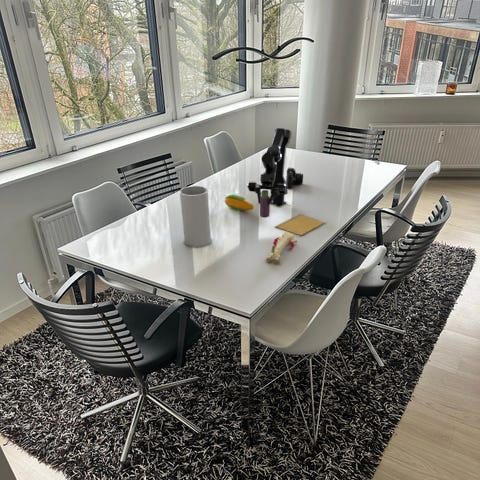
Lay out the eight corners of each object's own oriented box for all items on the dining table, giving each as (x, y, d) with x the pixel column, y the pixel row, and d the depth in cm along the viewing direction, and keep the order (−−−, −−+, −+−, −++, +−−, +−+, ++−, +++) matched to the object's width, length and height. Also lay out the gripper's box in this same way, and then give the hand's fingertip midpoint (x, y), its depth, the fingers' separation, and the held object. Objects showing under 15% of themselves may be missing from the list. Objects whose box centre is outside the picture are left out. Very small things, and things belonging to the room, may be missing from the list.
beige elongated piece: (283, 267, 198) (300, 239, 215) (283, 250, 192) (301, 223, 210) (261, 263, 201) (280, 236, 219) (261, 246, 196) (280, 220, 213)
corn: (229, 190, 253) (258, 197, 243) (231, 203, 258) (258, 211, 247) (221, 194, 249) (249, 202, 238) (222, 207, 254) (250, 216, 243)
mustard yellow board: (299, 215, 242) (299, 214, 241) (324, 223, 233) (324, 222, 233) (275, 227, 230) (275, 226, 230) (301, 235, 221) (301, 235, 221)
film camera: (308, 188, 276) (309, 171, 270) (288, 190, 273) (289, 173, 268) (297, 179, 290) (298, 163, 284) (279, 180, 288) (279, 165, 282)
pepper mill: (264, 213, 229) (264, 188, 222) (271, 215, 226) (271, 190, 219) (257, 215, 226) (257, 191, 219) (265, 218, 223) (265, 193, 216)
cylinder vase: (200, 249, 211) (196, 197, 197) (179, 243, 217) (174, 192, 202) (215, 239, 220) (213, 188, 205) (195, 234, 225) (190, 184, 211)
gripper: (248, 164, 218) (242, 195, 216) (286, 167, 213) (280, 198, 211) (252, 176, 229) (246, 205, 226) (288, 178, 224) (283, 208, 222)
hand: (264, 204), depth 221 cm, fingers closed on pepper mill, 5 cm apart
